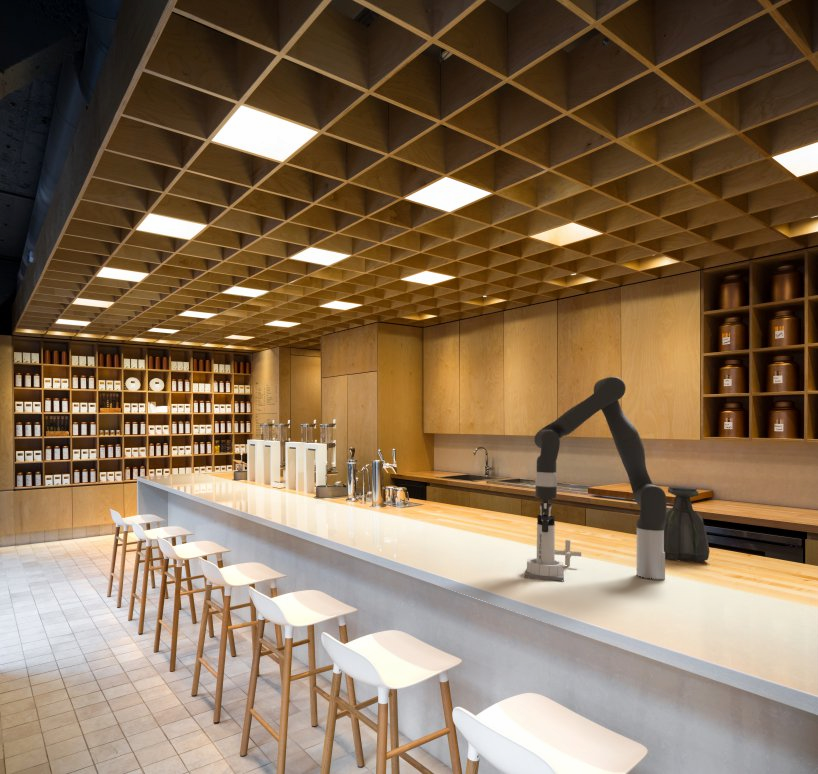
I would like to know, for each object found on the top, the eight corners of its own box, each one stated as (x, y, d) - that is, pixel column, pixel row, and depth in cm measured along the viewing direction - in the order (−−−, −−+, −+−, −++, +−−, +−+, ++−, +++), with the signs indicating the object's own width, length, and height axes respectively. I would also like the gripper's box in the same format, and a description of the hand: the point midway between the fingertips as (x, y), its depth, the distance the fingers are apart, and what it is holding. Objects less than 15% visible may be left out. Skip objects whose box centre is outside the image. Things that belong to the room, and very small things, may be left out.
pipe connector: (582, 570, 217) (582, 543, 218) (554, 568, 219) (555, 541, 220) (579, 564, 227) (580, 538, 227) (553, 562, 229) (554, 537, 229)
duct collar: (563, 573, 211) (563, 560, 212) (563, 581, 198) (563, 567, 199) (527, 569, 215) (527, 556, 215) (524, 577, 202) (524, 563, 202)
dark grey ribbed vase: (664, 560, 242) (663, 488, 244) (656, 553, 258) (656, 485, 260) (710, 564, 238) (710, 490, 240) (700, 556, 253) (700, 487, 256)
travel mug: (551, 569, 210) (551, 514, 212) (556, 574, 204) (557, 516, 206) (534, 569, 210) (535, 513, 212) (539, 573, 203) (539, 515, 205)
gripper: (556, 487, 201) (555, 534, 200) (557, 484, 215) (556, 528, 214) (534, 485, 203) (533, 532, 202) (536, 483, 217) (535, 526, 216)
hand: (545, 530), depth 208 cm, fingers open, 8 cm apart
